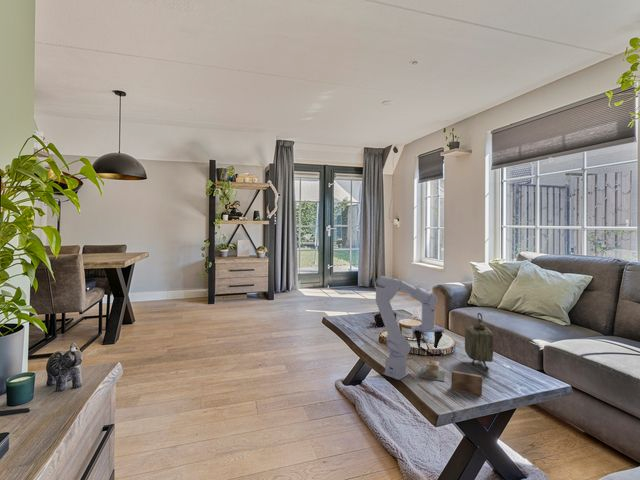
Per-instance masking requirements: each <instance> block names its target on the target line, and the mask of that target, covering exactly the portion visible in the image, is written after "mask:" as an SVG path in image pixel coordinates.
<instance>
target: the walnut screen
mask: <svg viewBox="0 0 640 480" xmlns="http://www.w3.org/2000/svg"><path fill="white" fill-rule="evenodd" d="M450 385H451V388H450V389H451V390H453V391H458V392H459V391H460V392H465V393H467V394H468V393H469V394H474V395H479V396H482V395H483V394H482V393H483V375H480V374H476V373H468V372H462V371H457V370H451V384H450Z"/></svg>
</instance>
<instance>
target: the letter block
mask: <svg viewBox="0 0 640 480" xmlns="http://www.w3.org/2000/svg"><path fill="white" fill-rule="evenodd" d="M425 363H426V365H425V366H426V367H425V368H426V375H428V376H433V377H438V375H439V371H440V361H437V360H430V359H427V360H426V362H425Z"/></svg>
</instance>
